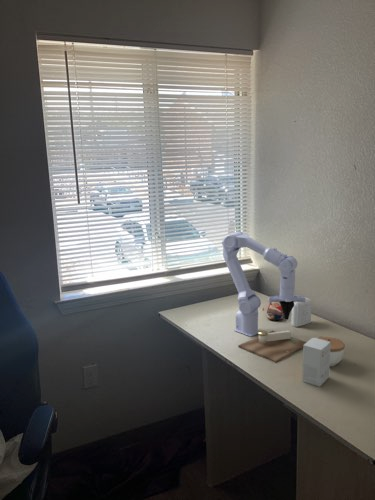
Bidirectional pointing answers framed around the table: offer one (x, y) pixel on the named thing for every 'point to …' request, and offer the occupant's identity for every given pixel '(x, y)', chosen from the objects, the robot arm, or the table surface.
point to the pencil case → (275, 311)
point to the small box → (316, 361)
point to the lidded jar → (335, 350)
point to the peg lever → (273, 336)
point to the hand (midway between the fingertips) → (286, 318)
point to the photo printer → (301, 313)
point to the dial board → (273, 348)
